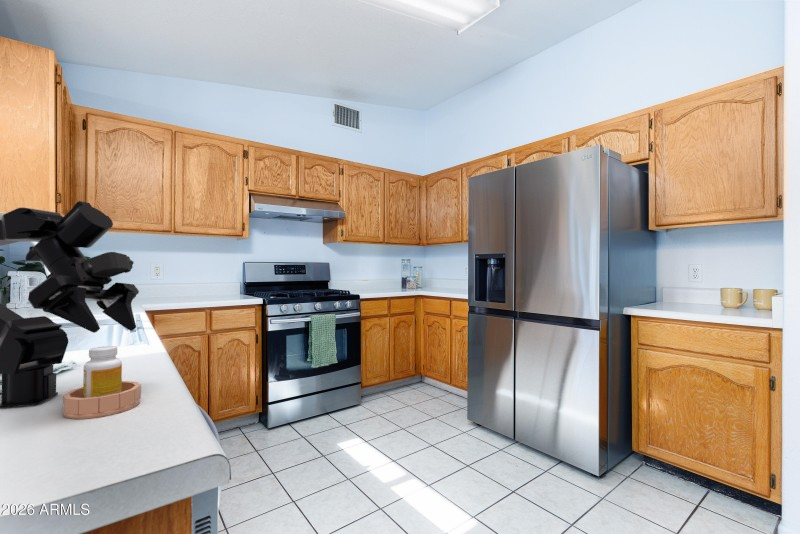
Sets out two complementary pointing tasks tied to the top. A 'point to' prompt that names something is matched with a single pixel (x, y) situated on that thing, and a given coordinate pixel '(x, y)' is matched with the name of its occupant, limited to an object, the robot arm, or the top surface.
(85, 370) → the supplement bottle
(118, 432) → the top surface
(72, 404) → the terracotta bowl
